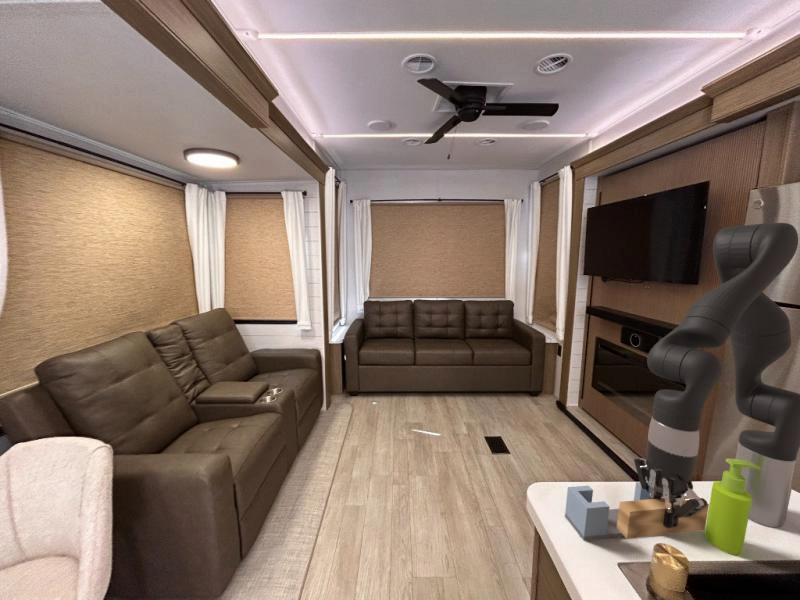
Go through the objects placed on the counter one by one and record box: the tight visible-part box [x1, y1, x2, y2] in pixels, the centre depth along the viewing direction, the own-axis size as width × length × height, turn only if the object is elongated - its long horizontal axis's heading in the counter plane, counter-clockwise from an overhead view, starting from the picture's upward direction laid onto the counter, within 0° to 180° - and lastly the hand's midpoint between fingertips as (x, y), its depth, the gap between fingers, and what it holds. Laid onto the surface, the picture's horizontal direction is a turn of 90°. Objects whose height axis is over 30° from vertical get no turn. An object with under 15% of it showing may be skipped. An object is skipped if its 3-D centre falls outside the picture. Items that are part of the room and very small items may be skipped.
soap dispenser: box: [704, 458, 762, 556], centre depth 68 cm, size 6×7×20 cm
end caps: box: [564, 481, 663, 541], centre depth 73 cm, size 24×6×8 cm, turn 97°
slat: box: [617, 495, 710, 539], centre depth 63 cm, size 18×2×6 cm, turn 97°
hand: (661, 520), depth 64 cm, fingers closed on slat, 2 cm apart
